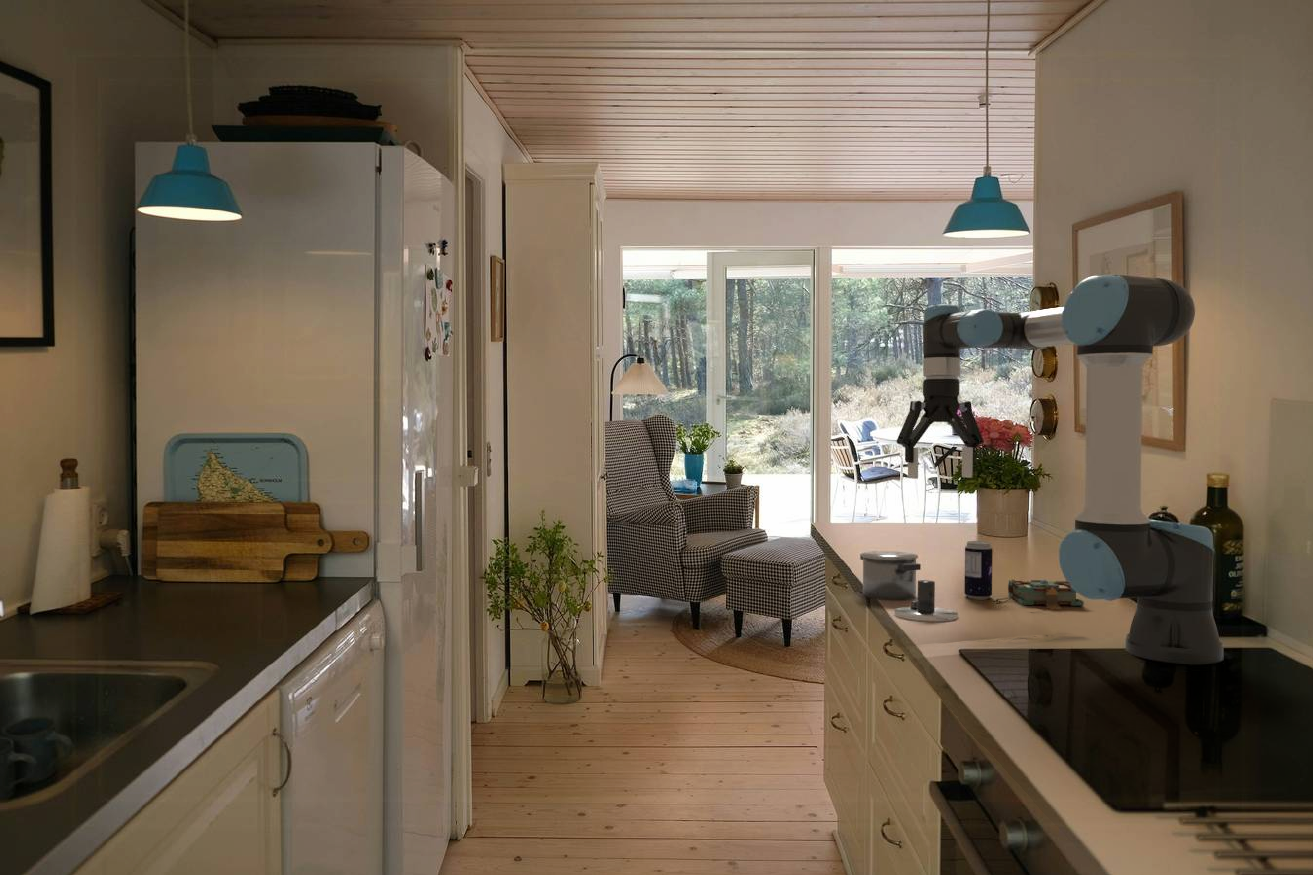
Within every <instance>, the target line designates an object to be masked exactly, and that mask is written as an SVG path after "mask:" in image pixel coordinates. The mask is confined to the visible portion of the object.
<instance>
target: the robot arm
mask: <svg viewBox="0 0 1313 875" xmlns="http://www.w3.org/2000/svg"><path fill="white" fill-rule="evenodd" d="M923 312H924V313H923V323H922V332H923V334H922V338H923V339H922V340H923V341H922V343H923V344H922V348H923V349H922V352H923V353H922V354H923V362H922V363H923V364H922V366H923V367H922V370H923V371H922V372H923V373H922V376H923V377H924V378H925V379H923V381H922V395H923V401H921V400H911V401H910V405H909V411H908V413H907V416H906V418H905V420H904V423H903V425H902V427H901V430H900V432H899V434H898V436H897V439H896V443H897V444H898V445H901V446H902V447H903V448H904V460H905V463H907V479H912V480H913V479H915V480H918V479H919V447H915V446H916V445H917V444H918V443H919V441H920V440H921V438H922V437H923V436H924V434H925V433H926V432H927V430H928V428H930V426H931V425H932V424H933V423H948V424H949V425H951V427H952V428H953V430H954V431H955V432H956V434H957V435H958V437H959V438H960V439H961V441H962V442H963V444H964V446H962V447H961V478H968V479H971V478H973V463H975V462H976V448H979V445H982V444H984V442H985V441H984V438H983V436H982V433H981V430H980V428H979V425H978V423H977V420H976V418H975V416H974V412H973V409H972V408H973V407H972V401H970V400H963V401H959V400H958V399H959V396H960V382H961V381H960V380H959V379H958V377H960V375H961V367H960V366H961V361H960V360H961V359H960V357H961V355H960V354H961V353H960V352H961V349H1002V350H1003V349H1011V350H1025V351H1036V350H1043V349H1047V347H1050V348H1051V347H1060V346H1061V347H1062V346H1072V345H1076V358H1077V359H1078V360H1079V361H1080V362H1081V363H1082V364H1083V365H1084V366H1085V368H1086V383H1085V384H1086V385H1085V386H1086V390H1085V392H1086V395H1085V397H1086V398H1085V400H1086V401H1085V455H1084V456H1085V466H1084V467H1085V469H1084V472H1085V473H1084V476H1085V477H1084V483H1085V484H1084V508H1083V509H1082V510H1081V511H1080V512H1078V513H1077V515H1075V516H1074V530H1072V531H1071V532H1069V533H1067V534H1066V535H1065V536H1064V539H1063V540H1061V543H1060V545H1059V551H1058V558H1059V559H1058V560H1059V565H1060V570H1061V572H1062V574H1063V577H1064V579H1065V580H1066V581H1067V582H1069V583H1070V585H1071V587H1072V588H1073V589H1074V590H1075V591H1076V592H1077V593H1076V594H1079V596H1082V597H1083V598H1086V599H1089V600H1105V601H1110V602H1111V601H1116V600H1118V599H1119V600H1121V599H1122V600H1123V599H1133V598H1137V599H1136V600H1137V602H1136V609H1135V612H1134V616H1133V618H1132V621H1131V625H1130V628H1129V631H1128V633H1127V634H1126V636H1125V651H1126V652H1127V653H1129V654H1130V655H1132V656H1135V657H1138V658H1142V659H1146V660H1150V661H1156V662H1161V663H1169V664H1177V665H1178V664H1181V665H1212V664H1217V663H1221V662H1222V661H1224V645H1223V642H1222V641H1221V640H1220V636H1219V633H1218V629H1217V628H1218V627H1217V625H1216V621H1215V619H1214V615H1213V596H1214V594H1213V592H1214V589H1213V588H1214V558H1215V556H1214V554H1215V550H1216V549H1215V548H1214V536H1213V532H1212V531H1211V530H1210V529H1209V528H1208V527H1206V526H1204V525H1203V526H1202V525H1197V524H1187V523H1179V522H1172V521H1163V520H1155V519H1150V518H1149V517H1148V516H1147V515H1146V514H1145V513H1144V512H1143V511H1142V509H1141V498H1142V497H1141V494H1142V490H1141V489H1142V487H1141V486H1142V485H1141V484H1142V432H1143V431H1142V430H1143V429H1142V425H1143V422H1142V421H1143V418H1142V416H1143V367H1144V366H1145V364H1146V363H1147V362H1148V361H1149V360H1150V359H1152V357H1153V355H1154V354H1153V353H1154V347H1164V346H1168V345H1171V344H1174V343H1176V342H1178V341H1180V340H1181V339H1182V338H1183V337H1184V336H1185V335H1186V334H1187V333H1188V332H1189V330H1190V329H1191V327H1192V325H1193V324H1194V320H1195V315H1196V307H1195V302H1194V299H1193V297H1192V295H1191V294H1190V292H1189V291H1188V290H1187V289H1186V288H1185V287H1184V286H1183V285H1181V284H1180V283H1178V282H1176V281H1173V280H1172V279H1167V278H1161V277H1145V276H1131V275H1121V274H1105V275H1104V274H1102V275H1100V274H1099V275H1093V276H1089V277H1087V278H1085V279H1083V280H1081V281H1079V283H1078V284H1076V286H1075V287H1074V288H1073V290H1072V291H1071V292H1070V293H1069V294H1068V296H1067V298H1066V300H1065V303H1064V305H1063V306H1062V307H1055V308H1054V307H1053V308H1047V309H1041V310H1034V311H1026V312H1005V311H993V310H992V309H988V308H975V309H971V310H966V311H961V309H960V306H958V305H956V304H936V305H935V304H934V305H929V306H927V307H925V309H924V311H923ZM922 411H924V413H923V415H922V416H921V418H920V415H921V412H922ZM958 411H959V412H960V415H961V417H962V418H961V417H960V415H959V414H958ZM919 418H920V420H919ZM918 420H919V422H918ZM962 420H963V421H962Z"/></svg>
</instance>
